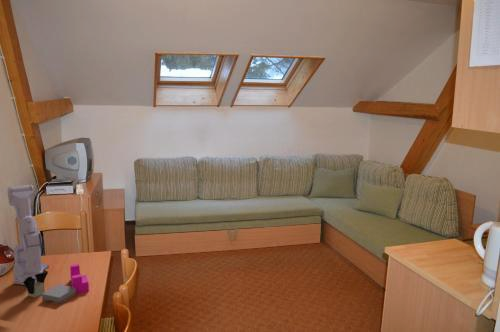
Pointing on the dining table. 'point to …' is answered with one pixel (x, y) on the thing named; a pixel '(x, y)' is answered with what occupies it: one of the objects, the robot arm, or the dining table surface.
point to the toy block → (78, 279)
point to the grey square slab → (61, 301)
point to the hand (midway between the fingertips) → (35, 290)
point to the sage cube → (37, 289)
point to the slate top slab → (58, 293)
